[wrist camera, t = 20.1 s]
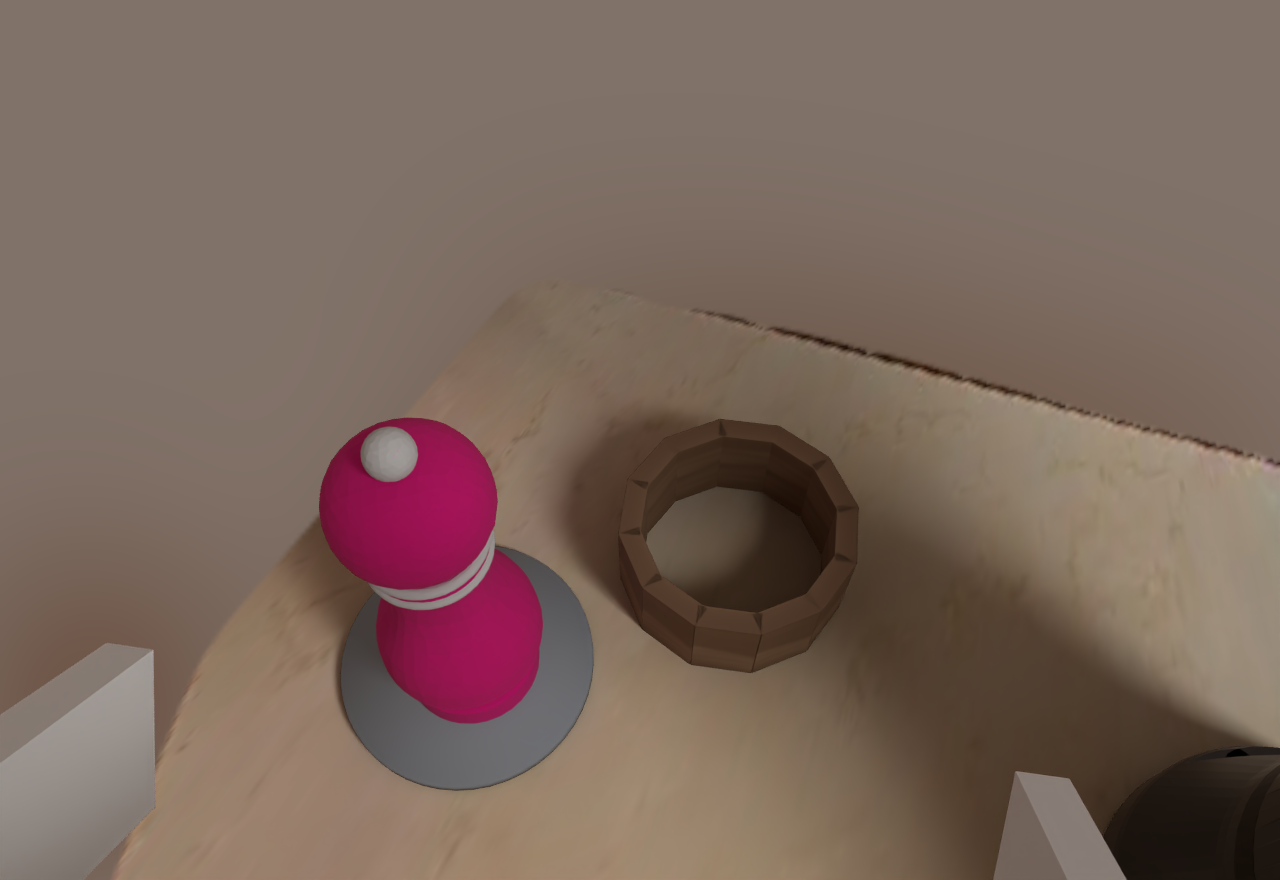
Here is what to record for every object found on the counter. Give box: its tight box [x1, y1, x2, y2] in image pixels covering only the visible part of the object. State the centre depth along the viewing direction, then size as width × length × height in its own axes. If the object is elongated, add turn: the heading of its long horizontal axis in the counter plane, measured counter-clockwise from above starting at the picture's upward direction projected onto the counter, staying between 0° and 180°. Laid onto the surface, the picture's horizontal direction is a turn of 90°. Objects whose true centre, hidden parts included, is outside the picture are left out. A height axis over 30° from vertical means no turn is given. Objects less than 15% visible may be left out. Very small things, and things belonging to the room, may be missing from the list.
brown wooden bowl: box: [619, 419, 859, 673], centre depth 50 cm, size 11×11×5 cm
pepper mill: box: [319, 418, 543, 724], centre depth 40 cm, size 7×7×20 cm
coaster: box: [341, 546, 593, 791], centre depth 49 cm, size 12×12×1 cm
